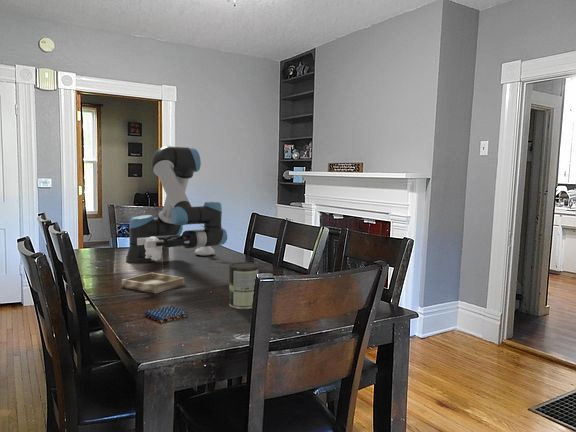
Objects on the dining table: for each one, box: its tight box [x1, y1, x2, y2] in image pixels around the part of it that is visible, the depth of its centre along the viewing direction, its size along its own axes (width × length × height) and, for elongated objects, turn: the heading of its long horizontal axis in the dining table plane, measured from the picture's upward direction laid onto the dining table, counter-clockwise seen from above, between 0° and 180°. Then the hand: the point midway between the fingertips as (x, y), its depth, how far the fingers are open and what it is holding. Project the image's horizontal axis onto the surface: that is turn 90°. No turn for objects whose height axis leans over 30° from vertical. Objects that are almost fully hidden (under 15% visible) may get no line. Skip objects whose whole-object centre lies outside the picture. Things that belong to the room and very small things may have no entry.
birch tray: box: [121, 272, 185, 294], centre depth 174 cm, size 18×16×3 cm
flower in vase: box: [194, 225, 216, 257], centre depth 246 cm, size 13×11×25 cm
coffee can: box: [228, 261, 260, 310], centre depth 151 cm, size 10×10×14 cm
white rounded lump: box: [144, 236, 163, 262], centre depth 171 cm, size 6×8×12 cm
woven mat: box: [143, 305, 189, 324], centre depth 137 cm, size 10×11×2 cm
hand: (142, 243), depth 170 cm, fingers closed on white rounded lump, 8 cm apart
